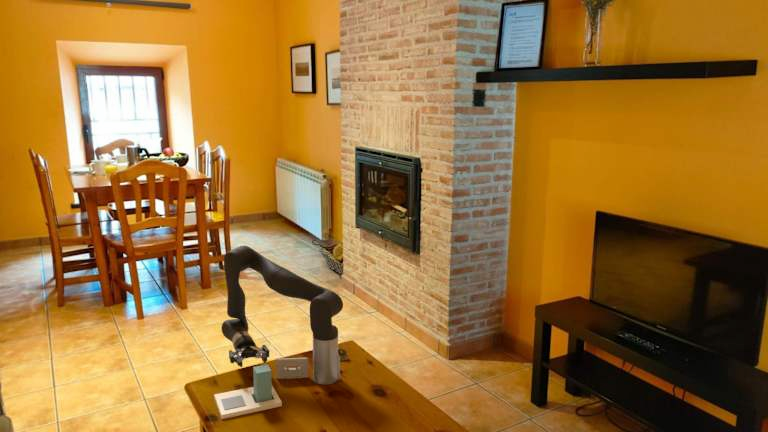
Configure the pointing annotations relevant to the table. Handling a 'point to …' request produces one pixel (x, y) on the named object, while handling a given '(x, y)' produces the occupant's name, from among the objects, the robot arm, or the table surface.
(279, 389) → the table surface
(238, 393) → the puzzle board
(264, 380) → the teal block
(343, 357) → the seal
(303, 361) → the cassette
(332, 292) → the robot arm
